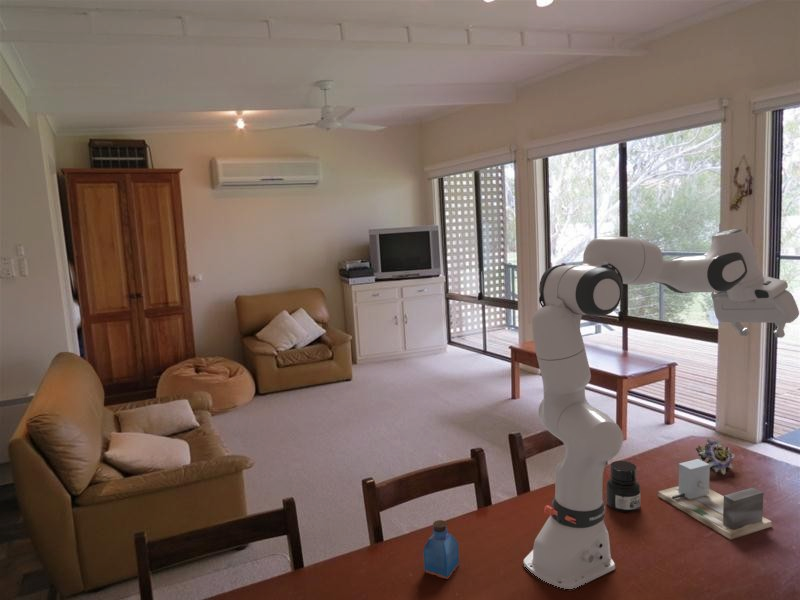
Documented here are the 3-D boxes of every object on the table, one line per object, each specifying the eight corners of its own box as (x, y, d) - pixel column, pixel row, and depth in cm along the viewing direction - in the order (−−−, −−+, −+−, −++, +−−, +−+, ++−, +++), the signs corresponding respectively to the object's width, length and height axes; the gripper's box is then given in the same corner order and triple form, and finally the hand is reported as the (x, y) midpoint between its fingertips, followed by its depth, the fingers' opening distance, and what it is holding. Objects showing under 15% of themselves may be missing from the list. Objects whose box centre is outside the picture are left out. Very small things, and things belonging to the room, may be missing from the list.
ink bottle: (620, 516, 153) (620, 476, 151) (598, 502, 161) (598, 463, 159) (648, 508, 156) (648, 468, 154) (626, 494, 164) (626, 456, 163)
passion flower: (721, 489, 174) (713, 468, 168) (690, 470, 183) (682, 449, 177) (744, 465, 176) (737, 443, 170) (713, 447, 185) (705, 425, 179)
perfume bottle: (447, 580, 131) (445, 533, 129) (424, 572, 134) (422, 527, 132) (459, 565, 136) (457, 520, 134) (436, 558, 139) (434, 514, 138)
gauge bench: (658, 496, 163) (658, 465, 161) (695, 486, 167) (695, 456, 165) (730, 539, 140) (731, 504, 139) (771, 526, 144) (772, 492, 143)
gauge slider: (667, 496, 158) (667, 466, 157) (697, 487, 162) (698, 458, 160) (682, 505, 153) (683, 474, 152) (713, 496, 157) (714, 466, 155)
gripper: (702, 294, 152) (718, 339, 154) (778, 291, 133) (795, 343, 135) (716, 284, 155) (732, 329, 157) (793, 281, 136) (809, 331, 138)
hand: (762, 335), depth 146 cm, fingers open, 8 cm apart
